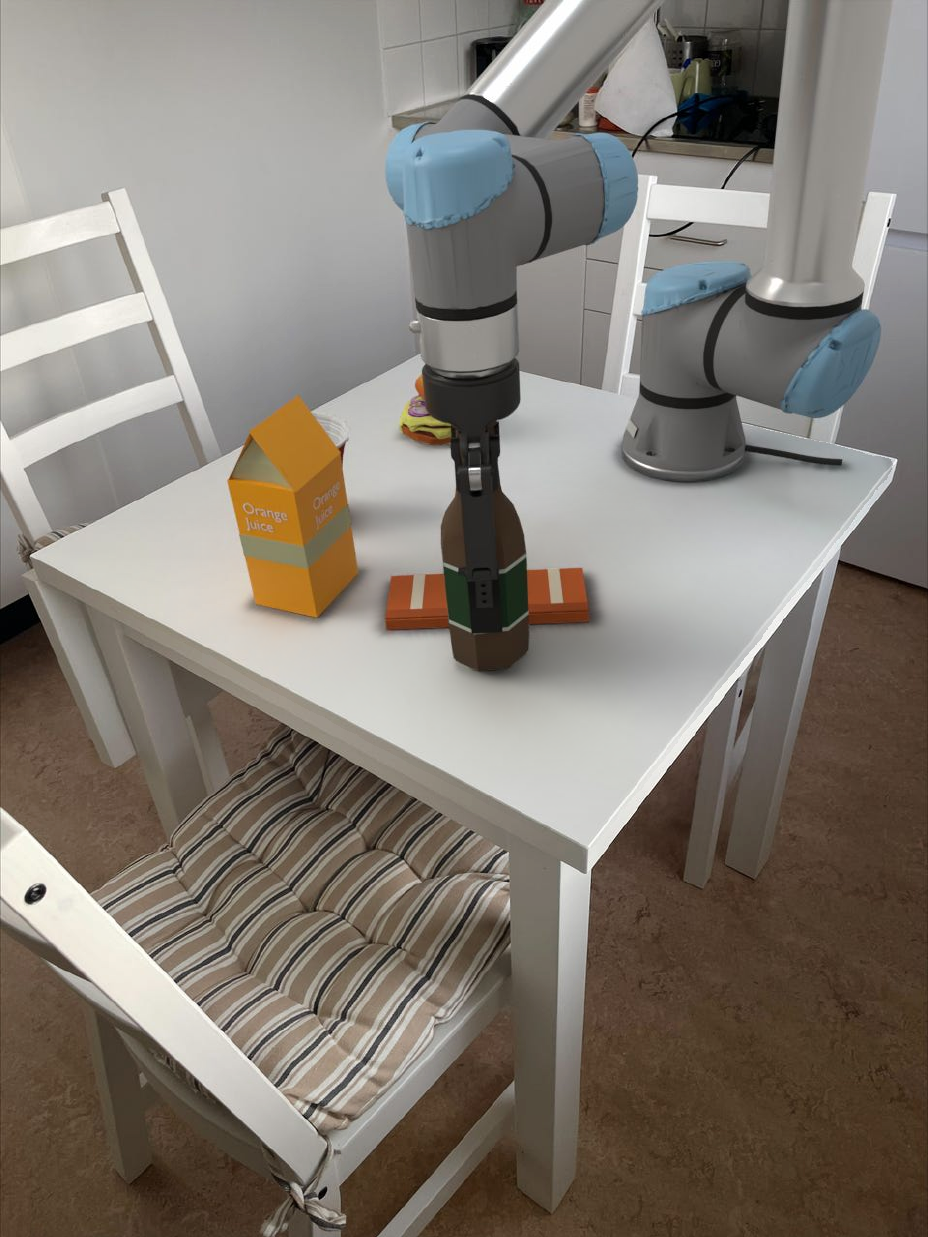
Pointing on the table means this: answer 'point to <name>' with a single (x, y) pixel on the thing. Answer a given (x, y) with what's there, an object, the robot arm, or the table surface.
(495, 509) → the beer bottle
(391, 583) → the towel
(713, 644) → the table surface
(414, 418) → the cheeseburger
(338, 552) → the orange juice
